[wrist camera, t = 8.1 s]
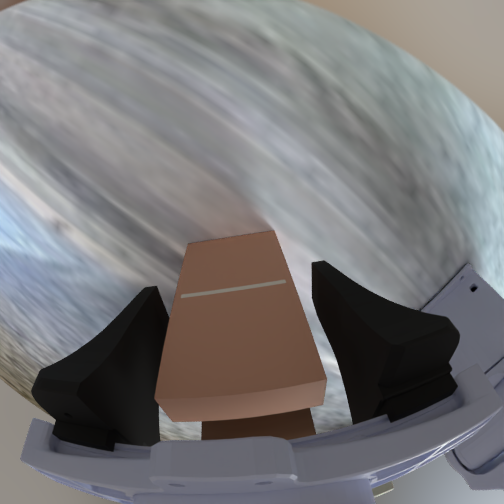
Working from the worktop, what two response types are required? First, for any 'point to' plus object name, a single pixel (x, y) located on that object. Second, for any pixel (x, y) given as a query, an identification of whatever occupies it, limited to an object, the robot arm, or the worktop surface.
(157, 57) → the worktop surface
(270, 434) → the walnut tile
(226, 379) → the terracotta tile
